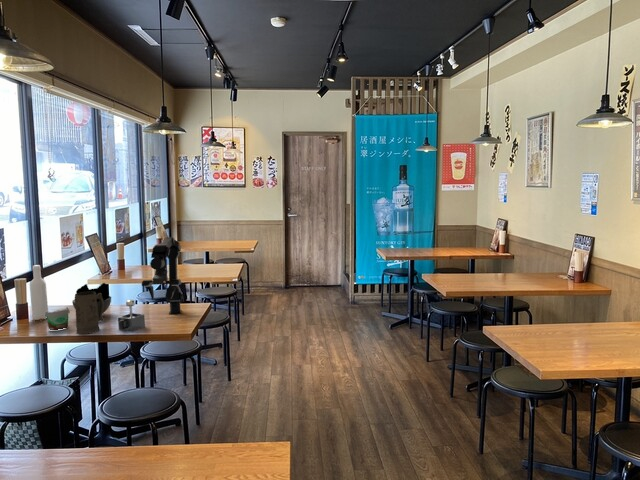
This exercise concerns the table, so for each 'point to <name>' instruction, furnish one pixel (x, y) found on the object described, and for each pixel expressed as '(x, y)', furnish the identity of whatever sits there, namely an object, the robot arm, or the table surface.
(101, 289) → the coal bowl
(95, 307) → the beer stein
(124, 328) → the press body
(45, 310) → the bottle
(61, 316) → the food container
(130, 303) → the plunger
